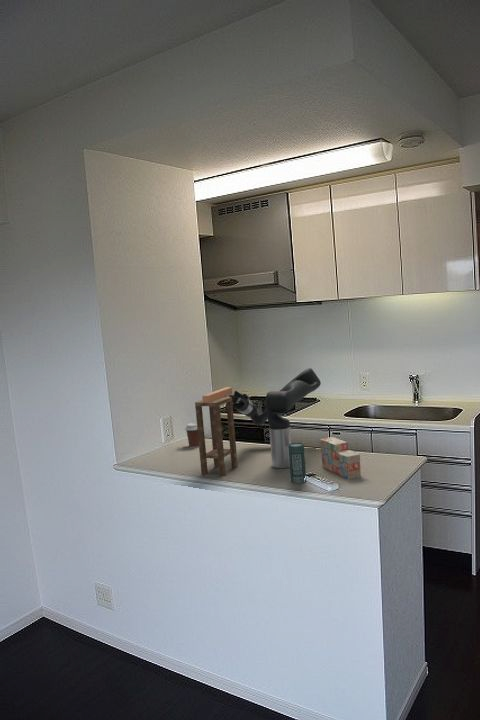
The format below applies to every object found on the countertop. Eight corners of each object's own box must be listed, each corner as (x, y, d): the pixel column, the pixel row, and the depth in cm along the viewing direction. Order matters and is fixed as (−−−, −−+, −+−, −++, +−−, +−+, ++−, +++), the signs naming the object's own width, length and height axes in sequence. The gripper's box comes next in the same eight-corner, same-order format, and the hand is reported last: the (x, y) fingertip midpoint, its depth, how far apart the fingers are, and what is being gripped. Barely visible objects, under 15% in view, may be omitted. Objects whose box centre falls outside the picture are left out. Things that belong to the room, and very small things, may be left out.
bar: (226, 393, 260) (226, 387, 260) (232, 393, 259) (232, 387, 258) (202, 402, 242) (202, 395, 241) (208, 402, 240) (208, 395, 240)
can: (306, 478, 230) (303, 442, 229) (306, 483, 224) (303, 446, 223) (291, 478, 231) (288, 442, 230) (290, 483, 225) (288, 446, 224)
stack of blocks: (361, 476, 227) (359, 446, 226) (347, 479, 225) (346, 449, 224) (334, 463, 247) (332, 436, 246) (321, 466, 245) (319, 438, 244)
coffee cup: (204, 447, 293) (202, 424, 292) (187, 449, 292) (185, 426, 291) (203, 443, 302) (201, 421, 301) (186, 445, 301) (184, 423, 300)
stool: (237, 467, 253) (231, 397, 250) (223, 476, 242) (217, 402, 238) (216, 466, 258) (210, 396, 255) (201, 474, 247) (195, 402, 243)
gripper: (254, 412, 267) (238, 400, 253) (228, 411, 273) (211, 400, 260) (256, 397, 269) (241, 385, 256) (230, 396, 276) (214, 384, 263)
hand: (226, 392), depth 258 cm, fingers open, 8 cm apart
